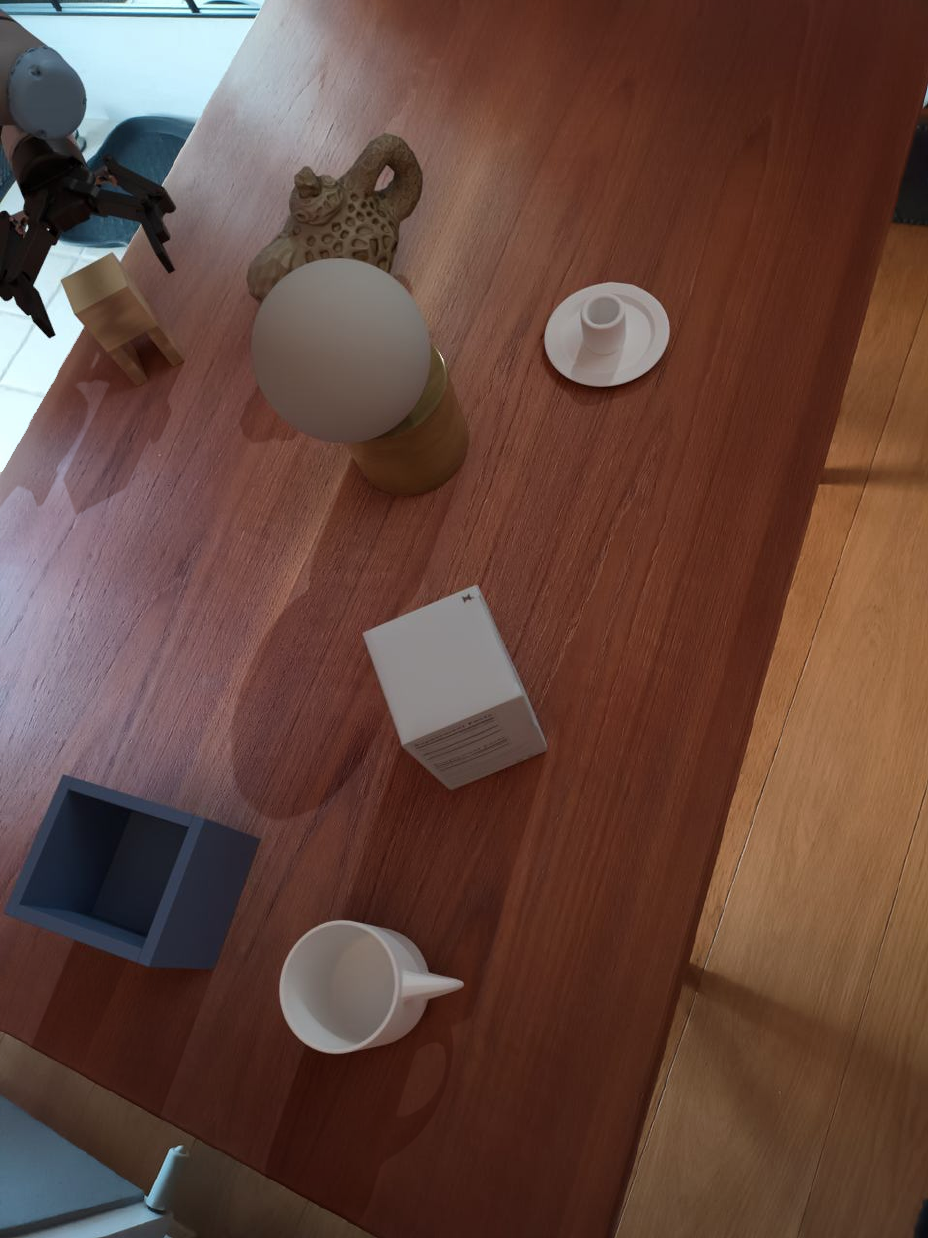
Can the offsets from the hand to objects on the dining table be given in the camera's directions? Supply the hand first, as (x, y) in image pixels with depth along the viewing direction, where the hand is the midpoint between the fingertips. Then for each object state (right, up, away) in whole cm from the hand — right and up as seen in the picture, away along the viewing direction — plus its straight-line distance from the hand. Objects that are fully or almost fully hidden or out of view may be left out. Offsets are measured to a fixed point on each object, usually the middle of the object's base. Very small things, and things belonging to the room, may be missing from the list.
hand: (105, 295), depth 94 cm
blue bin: (+10, -54, -12) cm, 57 cm away
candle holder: (+49, -5, -1) cm, 50 cm away
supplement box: (+37, -41, -12) cm, 56 cm away
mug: (+30, -61, -19) cm, 71 cm away
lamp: (+29, -17, -1) cm, 34 cm away
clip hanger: (+2, -4, +9) cm, 10 cm away
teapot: (+24, +4, +8) cm, 25 cm away
